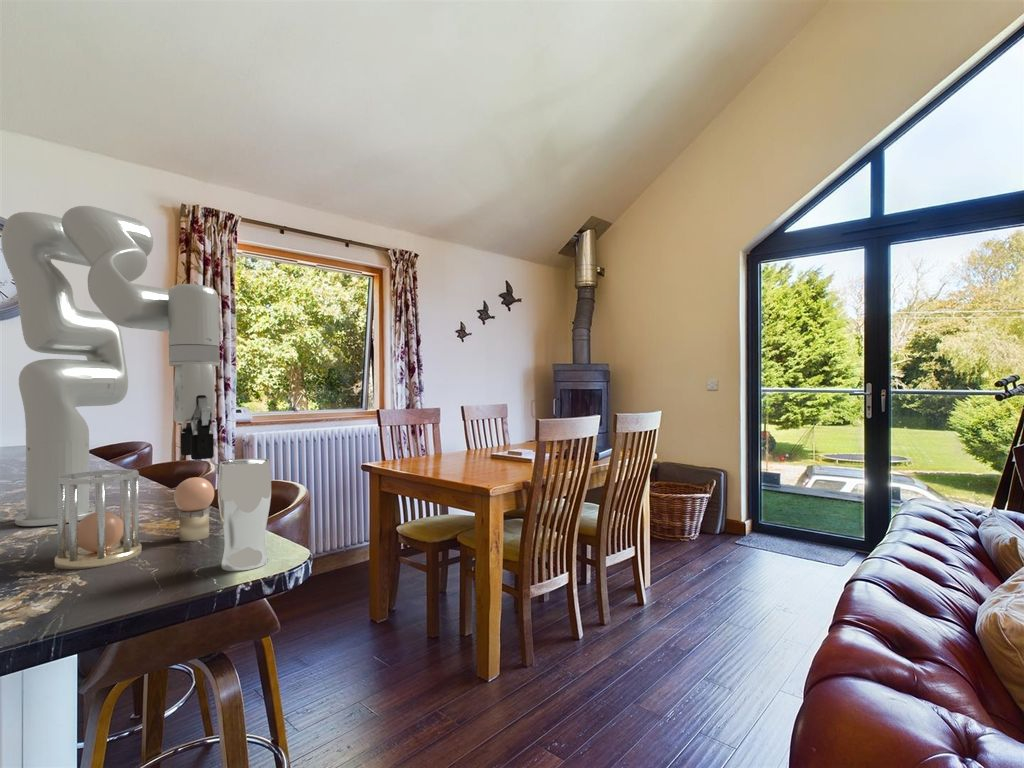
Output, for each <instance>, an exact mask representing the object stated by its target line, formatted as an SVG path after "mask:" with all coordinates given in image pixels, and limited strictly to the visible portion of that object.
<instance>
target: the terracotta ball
mask: <svg viewBox="0 0 1024 768" xmlns="http://www.w3.org/2000/svg"><path fill="white" fill-rule="evenodd" d="M214 498H215V488H214V486H213V485H212V483H211V482H210V481H209V480H207V479H205V478H203V477H197V476H195V477H189V478H186V479H185V480H183V481H181V482H180V483H179V484H178V485H177V486H176V488H175V491H174V493H173V501H174V503H175V506H176V507H177V508H178V509H179V510H182V511H185V512H194V511H201V510H204V509H206V508H207V507H209V506H210V505H211V504H212V502H213V500H214Z"/></svg>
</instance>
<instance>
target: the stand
mask: <svg viewBox="0 0 1024 768" xmlns="http://www.w3.org/2000/svg"><path fill="white" fill-rule="evenodd" d="M210 513H211V509H210V507H209V506H208V507H207V508H206V509H204V510H201V511H194V512H185V511H182V510H181V509H179V510H178V519H179V524H178V525H179V529H178V530H179V531H178V532H179V535H178V537H179V539H178V540H179V541H181V542H194V541H199V540H204V539H208V538H209V537H210Z"/></svg>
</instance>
